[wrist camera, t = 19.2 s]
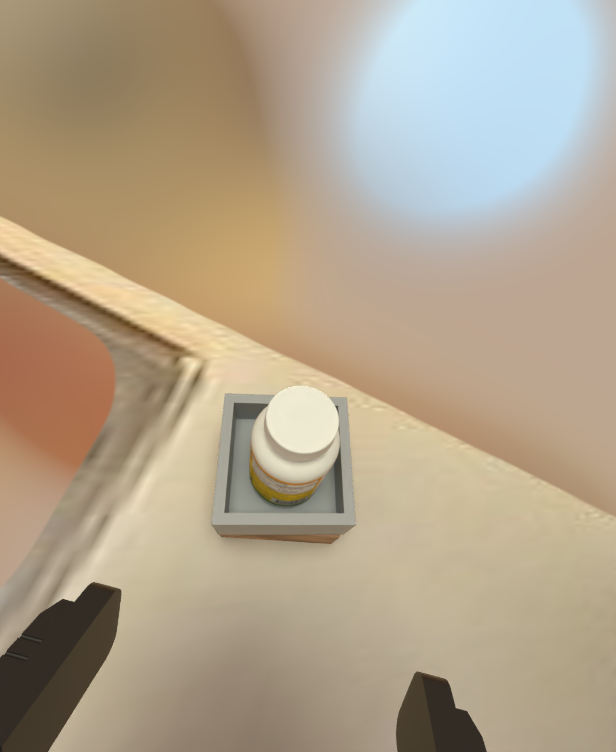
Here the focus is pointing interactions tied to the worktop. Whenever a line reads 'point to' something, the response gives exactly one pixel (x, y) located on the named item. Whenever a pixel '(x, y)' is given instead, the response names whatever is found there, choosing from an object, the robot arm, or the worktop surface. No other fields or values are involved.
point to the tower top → (247, 509)
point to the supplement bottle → (293, 446)
